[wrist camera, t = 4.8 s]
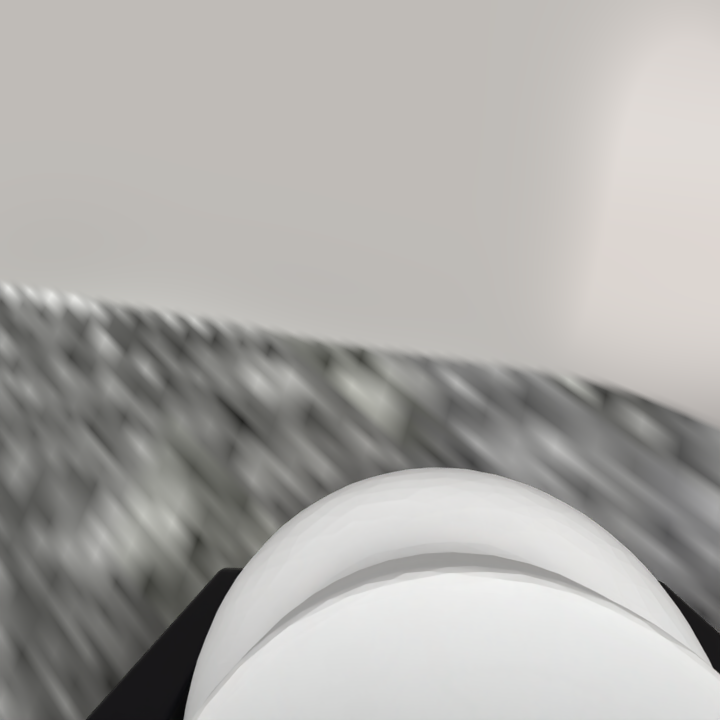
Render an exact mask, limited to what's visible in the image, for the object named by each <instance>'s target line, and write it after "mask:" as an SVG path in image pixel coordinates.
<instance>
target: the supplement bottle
mask: <svg viewBox="0 0 720 720" xmlns="http://www.w3.org/2000/svg"><path fill="white" fill-rule="evenodd" d="M184 720H720V674H719V673H718V672H717V671H716V670H714V669H713V667H712V665H711V663H710V661H709V659H708V657H707V655H706V653H705V652H704V650H703V648H702V646H701V645H700V643H699V641H698V639H697V638H696V636H695V634H694V632H693V630H692V629H691V627H690V625H689V624H688V622H687V620H686V619H685V617H684V616H683V614H682V613H681V611H680V610H679V608H678V607H677V606H676V604H675V603H674V602H673V600H672V599H671V598H670V596H669V595H668V594H667V592H666V591H665V590H664V588H663V587H662V586H661V584H660V583H659V582H658V581H657V580H656V578H655V577H654V576H653V575H652V574H651V573H650V571H649V570H648V569H647V568H646V567H645V566H644V565H643V564H642V563H641V562H640V561H639V560H638V559H637V558H636V557H635V556H634V554H633V553H632V552H631V551H630V550H628V549H627V548H626V547H625V546H624V545H623V544H621V543H620V542H619V541H618V540H617V539H616V538H614V537H613V536H612V535H611V534H610V533H609V532H607V531H606V530H605V529H604V528H602V527H601V526H600V525H598V524H597V523H595V522H594V521H593V520H591V519H590V518H589V517H587V516H586V515H584V514H583V513H581V512H579V511H578V510H576V509H575V508H573V507H571V506H570V505H568V504H566V503H564V502H562V501H560V500H558V499H557V498H555V497H553V496H551V495H549V494H547V493H545V492H543V491H541V490H539V489H536V488H534V487H532V486H530V485H527V484H524V483H521V482H518V481H515V480H512V479H508V478H505V477H502V476H498V475H495V474H490V473H484V472H479V471H473V470H468V469H458V468H435V467H430V468H418V469H406V470H401V471H396V472H391V473H387V474H382V475H378V476H374V477H370V478H367V479H364V480H361V481H358V482H355V483H353V484H350V485H347V486H345V487H343V488H341V489H339V490H337V491H335V492H333V493H331V494H329V495H327V496H326V497H324V498H322V499H320V500H318V501H317V502H315V503H314V504H312V505H310V506H309V507H307V508H306V509H304V510H302V511H301V512H300V513H298V514H297V515H296V516H295V517H293V518H292V519H291V520H289V521H288V522H287V523H286V524H284V525H283V526H282V527H281V528H280V529H279V530H278V531H277V532H276V533H275V534H274V535H273V536H272V537H271V538H270V539H269V540H268V541H267V542H266V543H265V544H264V545H263V546H262V547H261V548H260V549H259V551H258V552H257V553H256V554H255V555H254V556H253V557H252V559H251V560H250V561H249V562H248V563H247V565H246V566H245V567H244V569H243V570H242V571H241V573H240V574H239V575H238V577H237V578H236V580H235V581H234V583H233V585H232V586H231V588H230V589H229V591H228V593H227V594H226V596H225V598H224V600H223V601H222V603H221V605H220V607H219V609H218V611H217V613H216V615H215V617H214V620H213V622H212V624H211V627H210V629H209V632H208V634H207V636H206V639H205V641H204V644H203V647H202V649H201V652H200V655H199V657H198V660H197V663H196V667H195V670H194V674H193V678H192V682H191V686H190V690H189V695H188V699H187V703H186V708H185V714H184Z"/></svg>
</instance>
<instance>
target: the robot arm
mask: <svg viewBox="0 0 720 720" xmlns="http://www.w3.org/2000/svg"><path fill="white" fill-rule="evenodd" d="M242 570H243V569H242V568H223V569H221V570H220V571H219V572H218V573H217V574H216V575H215V576H214V577H213V578H212V580H211V581H210V582H209V583H208V584H207V585H206V586H205V587H204V588H203V590H202V591H201V592H200V593H199V594H198V595H197V596H196V597H195V598H194V600H193V601H192V602H191V603H190V604H189V605H188V606H187V607H186V609H185V610H184V611H183V612H182V613H181V614H180V615H179V616H178V617H177V619H176V620H175V621H174V622H173V623H172V624H171V625H170V626H169V628H168V629H167V630H166V631H165V632H164V633H163V634H162V635H161V636H160V638H159V639H158V640H157V641H156V642H155V643H154V644H153V645H152V646H151V648H150V649H149V650H148V651H147V652H146V653H145V654H144V655H143V657H142V658H141V659H140V660H139V661H138V662H137V663H136V664H135V665H134V667H133V668H132V669H131V670H130V671H129V672H128V673H127V674H126V675H125V677H124V678H123V679H122V680H121V681H120V682H119V683H118V684H117V686H116V687H115V688H114V689H113V690H112V691H111V692H110V693H109V694H108V696H107V697H106V698H105V699H104V700H103V701H102V702H101V703H100V705H99V706H98V707H97V708H96V709H95V710H94V711H93V712H92V713H91V715H90V716H89V717H88V718H87V719H86V720H184V714H185V708H186V703H187V699H188V695H189V690H190V686H191V682H192V678H193V674H194V670H195V667H196V663H197V660H198V657H199V655H200V652H201V649H202V647H203V644H204V641H205V639H206V636H207V634H208V632H209V629H210V627H211V624H212V622H213V620H214V617H215V615H216V613H217V611H218V609H219V607H220V605H221V603H222V601H223V600H224V598H225V596H226V594H227V593H228V591H229V589H230V588H231V586H232V585H233V583H234V581H235V580H236V578H237V577H238V575H239V574H240V573H241V571H242ZM657 581H658V580H657ZM658 582H659V583H660V584H661V586H662V587H663V588H664V590H665V591H666V592H667V594H668V595H669V596H670V598H671V599H672V600H673V602H674V603H675V604H676V606H677V607H678V608H679V610H680V611H681V613H682V614H683V616H684V617H685V619H686V620H687V622H688V624H689V625H690V627H691V629H692V630H693V632H694V634H695V636H696V638H697V639H698V641H699V643H700V645H701V646H702V648H703V650H704V652H705V653H706V655H707V657H708V659H709V661H710V663H711V665H712V667H713V669H714V670H716V671H717V672H718V673H719V674H720V634H719V633H718V632H717V631H716V630H715V629H714V628H713V627H712V626H710V625H709V624H708V623H707V622H706V621H705V620H704V619H703V618H702V617H700V616H699V615H698V614H697V613H696V612H695V611H694V610H693V609H692V608H691V607H689V606H688V605H687V604H686V603H685V602H684V601H683V600H682V599H681V598H680V597H678V596H677V595H676V594H675V593H674V592H673V591H672V590H671V589H670V588H668V587H667V586H666V585H665V584H664V583H662V582H660V581H658Z"/></svg>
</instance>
